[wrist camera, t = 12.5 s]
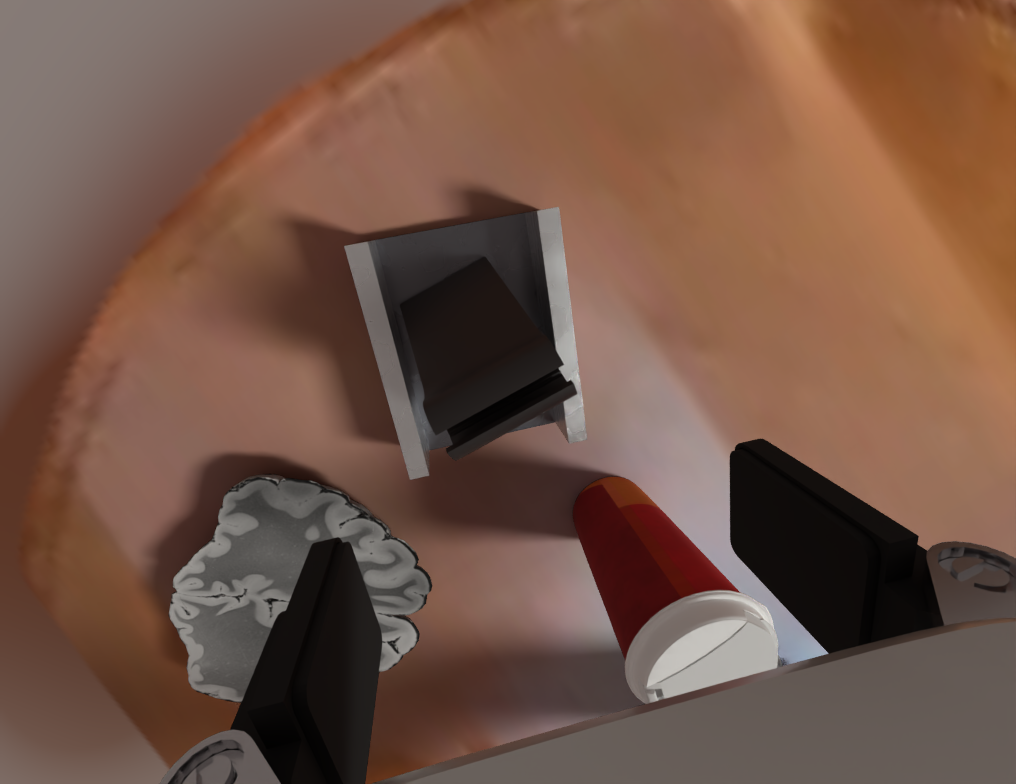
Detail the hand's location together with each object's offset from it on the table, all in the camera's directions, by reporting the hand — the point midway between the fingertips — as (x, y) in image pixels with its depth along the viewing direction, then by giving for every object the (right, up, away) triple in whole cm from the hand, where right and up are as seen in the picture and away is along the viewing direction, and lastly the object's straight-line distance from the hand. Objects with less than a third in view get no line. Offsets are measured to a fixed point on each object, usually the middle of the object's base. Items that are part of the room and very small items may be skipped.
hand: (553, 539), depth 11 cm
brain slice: (-16, -10, +25) cm, 31 cm away
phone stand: (-3, +7, +19) cm, 21 cm away
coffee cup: (+7, -6, +26) cm, 28 cm away
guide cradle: (-3, +7, +20) cm, 21 cm away
